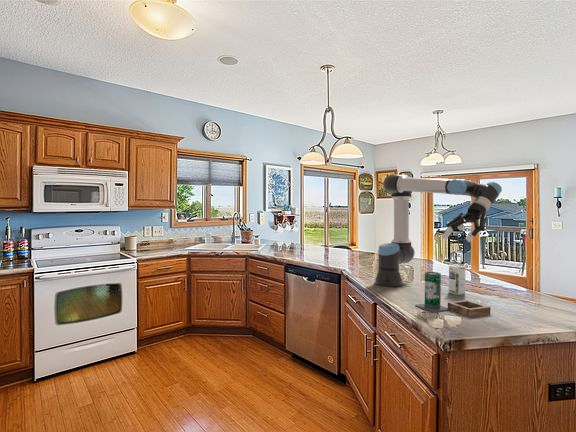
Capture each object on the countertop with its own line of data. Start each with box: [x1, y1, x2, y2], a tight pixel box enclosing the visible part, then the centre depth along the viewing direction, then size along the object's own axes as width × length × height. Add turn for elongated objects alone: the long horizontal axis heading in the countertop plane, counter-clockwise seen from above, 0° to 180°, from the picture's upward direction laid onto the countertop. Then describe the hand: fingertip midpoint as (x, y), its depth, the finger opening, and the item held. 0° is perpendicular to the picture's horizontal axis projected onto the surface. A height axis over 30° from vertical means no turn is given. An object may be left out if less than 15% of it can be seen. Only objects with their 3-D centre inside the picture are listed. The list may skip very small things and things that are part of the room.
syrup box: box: [448, 264, 466, 296], centre depth 170 cm, size 6×6×14 cm
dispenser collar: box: [447, 299, 491, 318], centre depth 140 cm, size 11×11×3 cm
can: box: [424, 271, 442, 309], centre depth 145 cm, size 6×6×15 cm
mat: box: [414, 303, 451, 314], centre depth 145 cm, size 10×10×1 cm
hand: (455, 239), depth 156 cm, fingers open, 13 cm apart
